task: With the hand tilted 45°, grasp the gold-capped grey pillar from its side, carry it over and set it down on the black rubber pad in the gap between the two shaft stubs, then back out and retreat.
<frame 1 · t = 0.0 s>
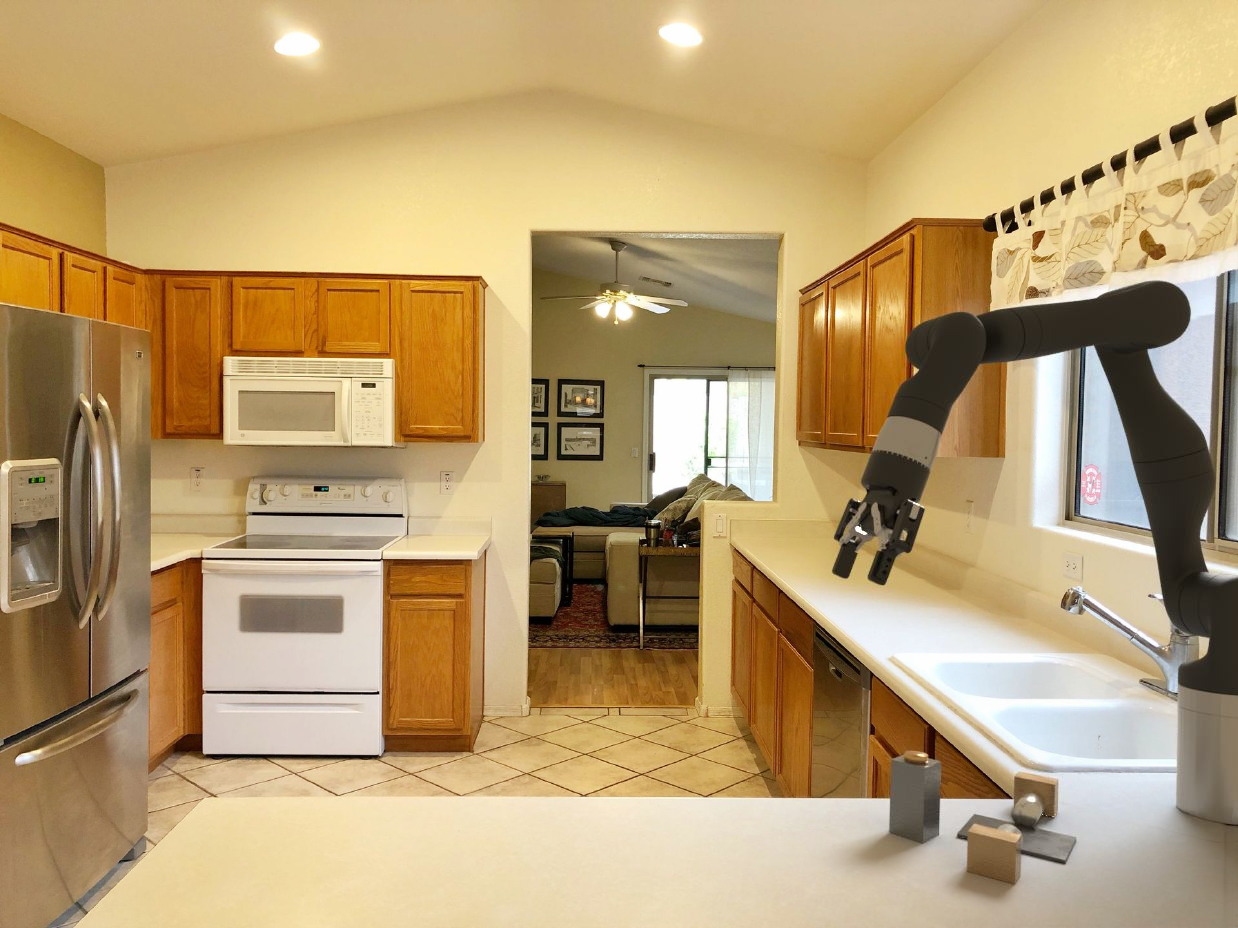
hand: (856, 579, 107), 31 cm above the countertop, tool tilted 20°, fingers open, 8 cm apart
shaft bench: (1016, 838, 107), on the countertop
gold-capped grey pillar: (914, 833, 107), on the countertop
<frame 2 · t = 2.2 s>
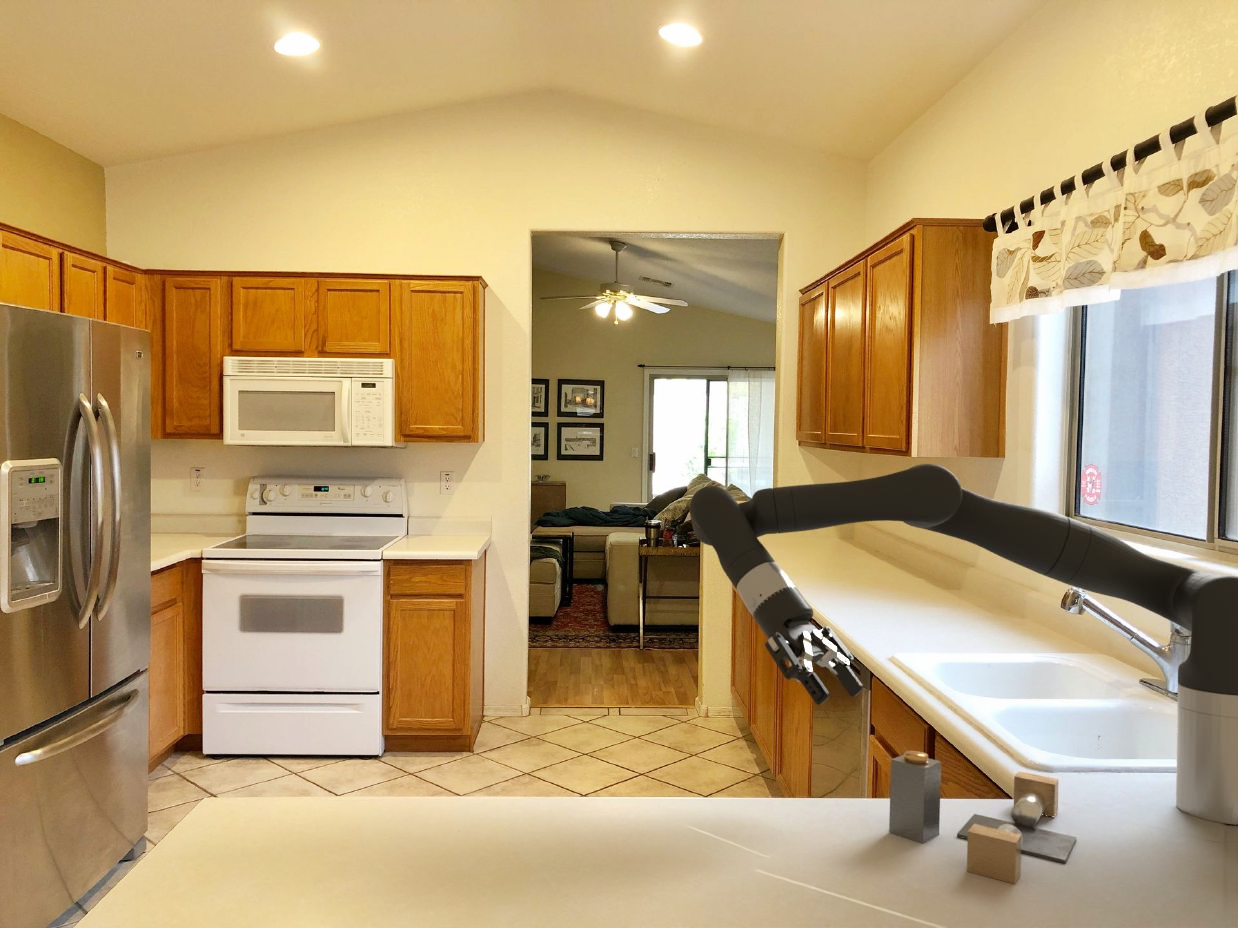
hand: (842, 696, 115), 15 cm above the countertop, tool tilted 45°, fingers open, 8 cm apart
nothing on the countertop moved.
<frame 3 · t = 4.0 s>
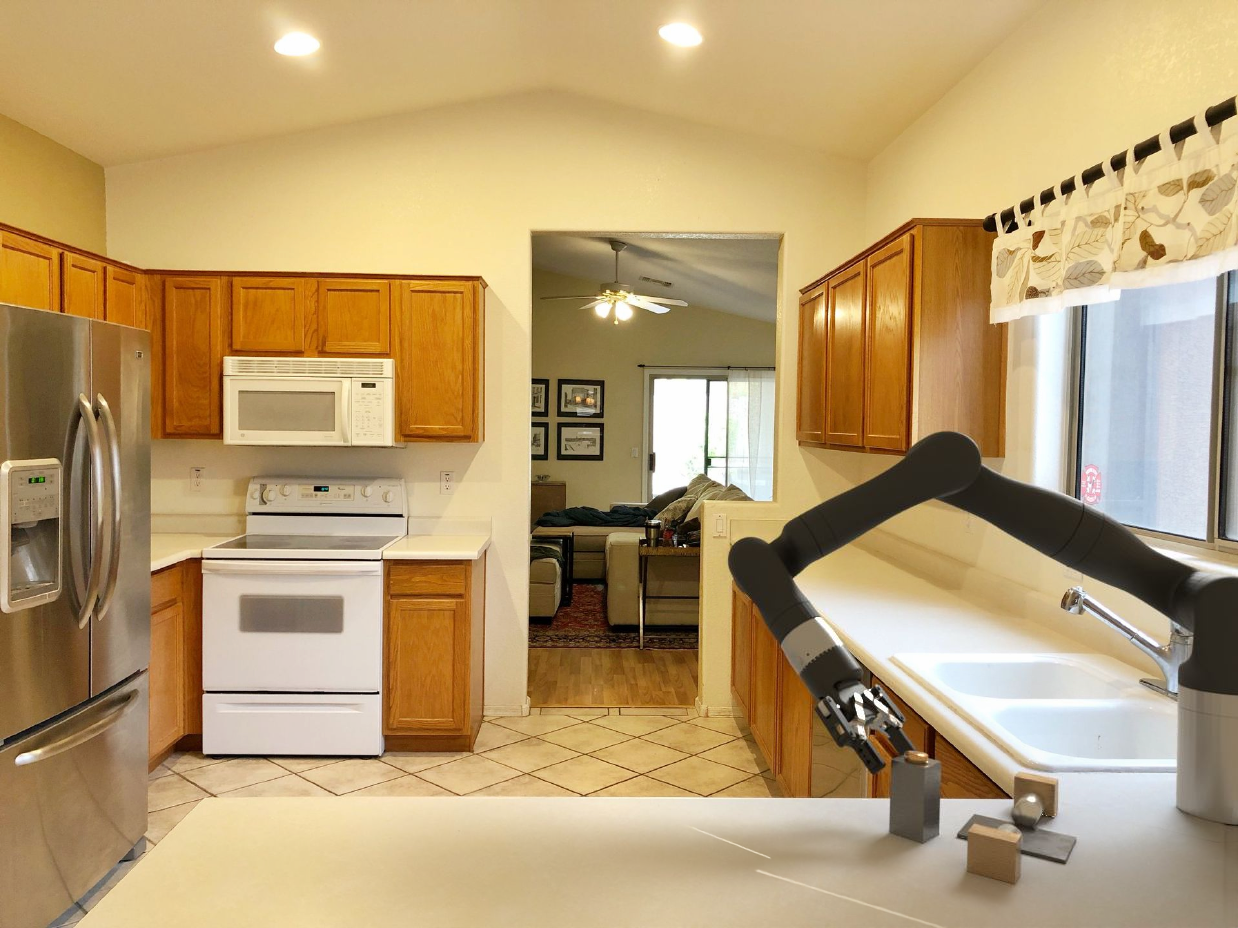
hand: (896, 764, 109), 8 cm above the countertop, tool tilted 45°, fingers open, 8 cm apart
nothing on the countertop moved.
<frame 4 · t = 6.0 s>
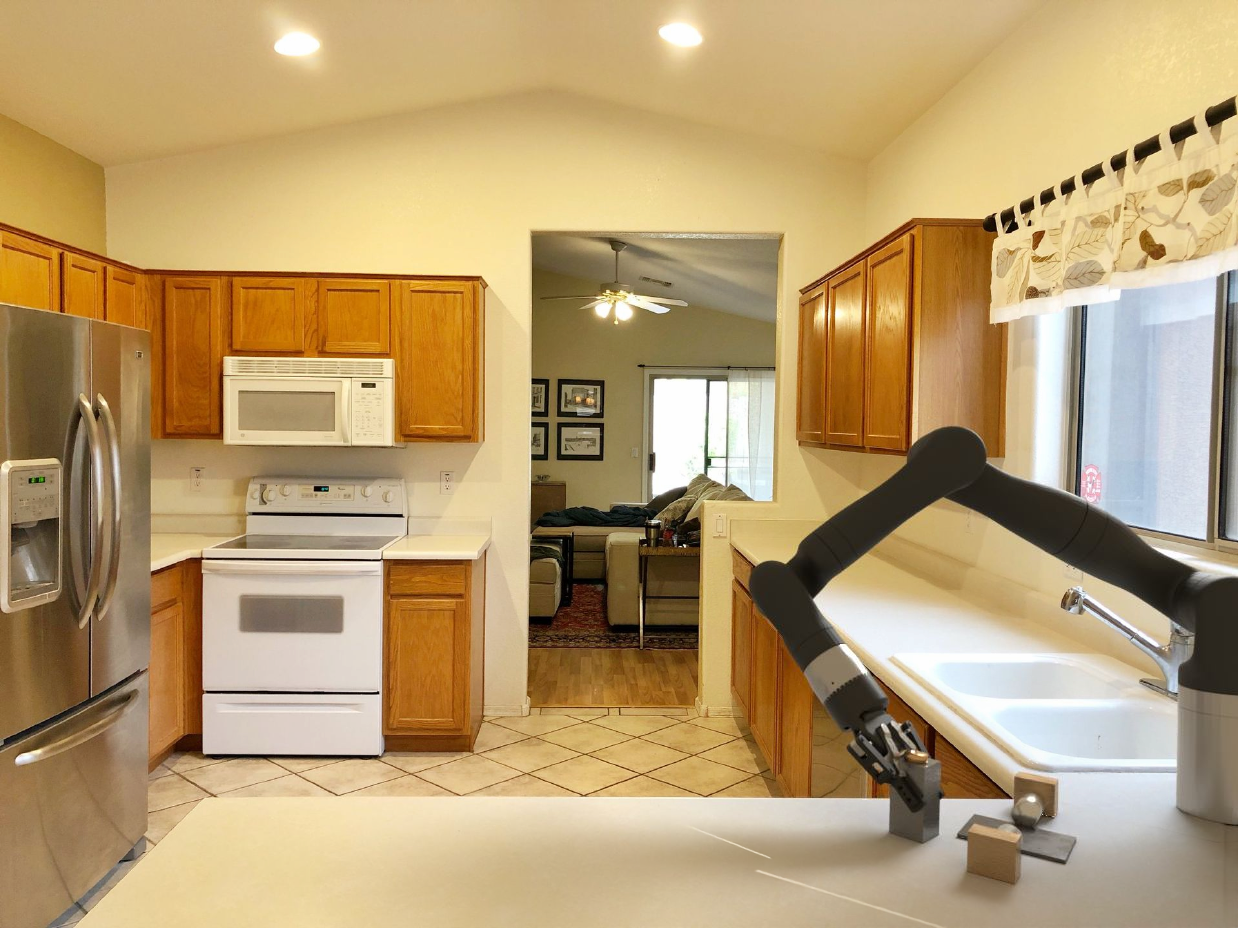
hand: (929, 803, 106), 4 cm above the countertop, tool tilted 45°, fingers closed on gold-capped grey pillar, 4 cm apart
gold-capped grey pillar: (913, 833, 107), on the countertop, touching gripper
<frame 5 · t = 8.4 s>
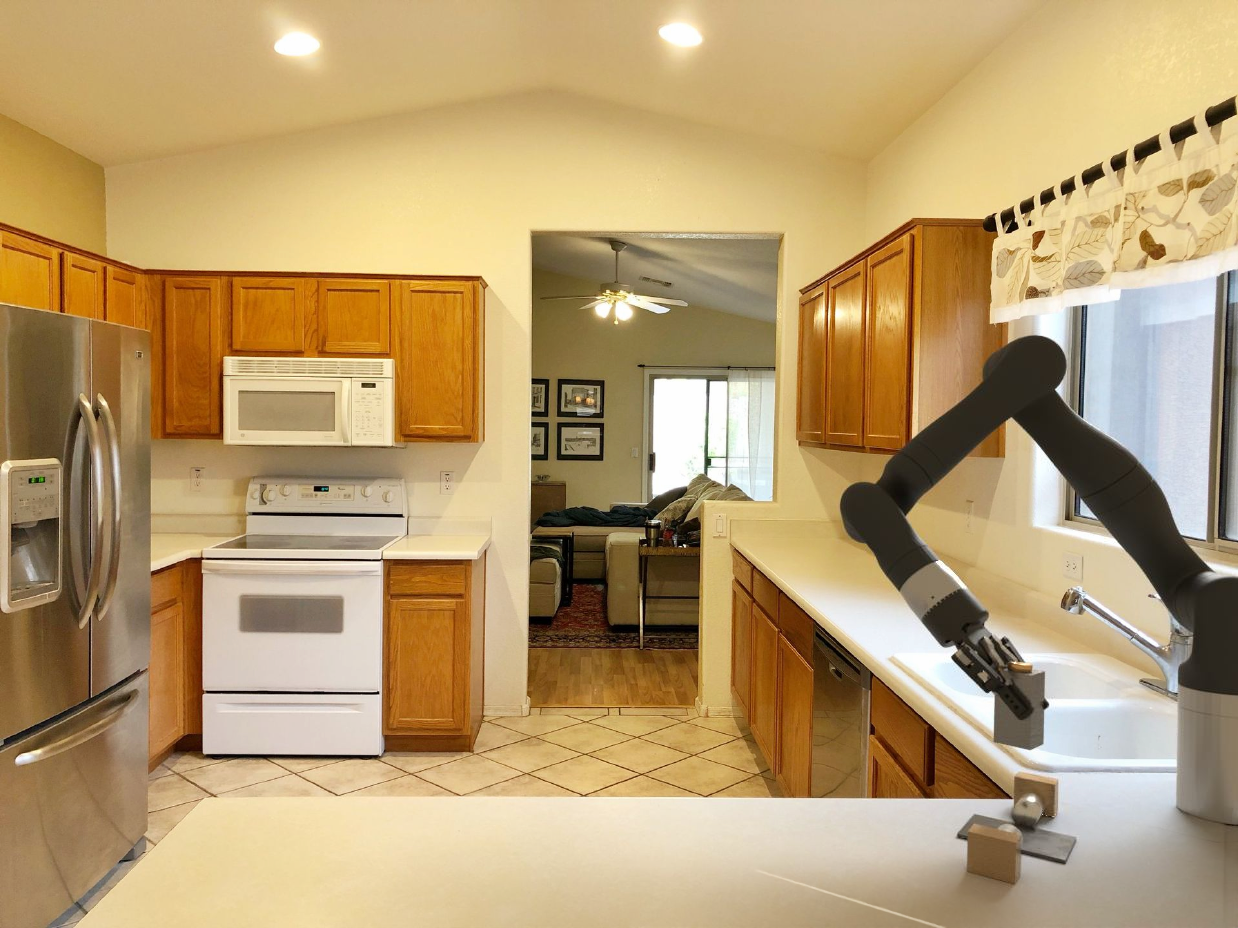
hand: (1035, 712, 106), 16 cm above the countertop, tool tilted 45°, fingers closed on gold-capped grey pillar, 4 cm apart
gold-capped grey pillar: (1018, 742, 107), point 12 cm above the countertop, touching gripper
when the fingers open (6 cm above the countertop, at t = 11.1 s): gold-capped grey pillar drops 1 cm, resting on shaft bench.
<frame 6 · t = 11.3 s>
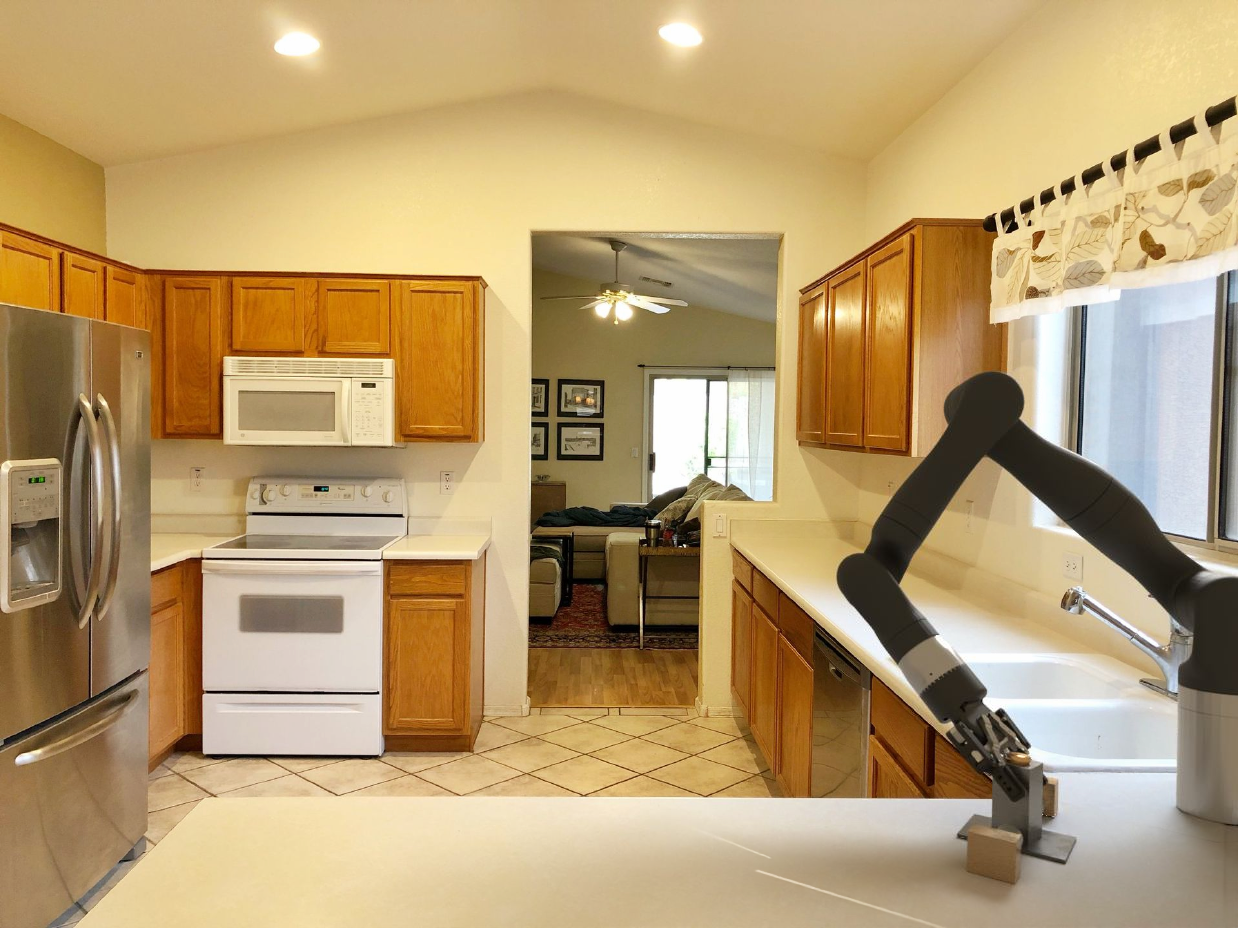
hand: (1031, 791, 106), 6 cm above the countertop, tool tilted 45°, fingers open, 6 cm apart
gold-capped grey pillar: (1016, 835, 107), resting on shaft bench
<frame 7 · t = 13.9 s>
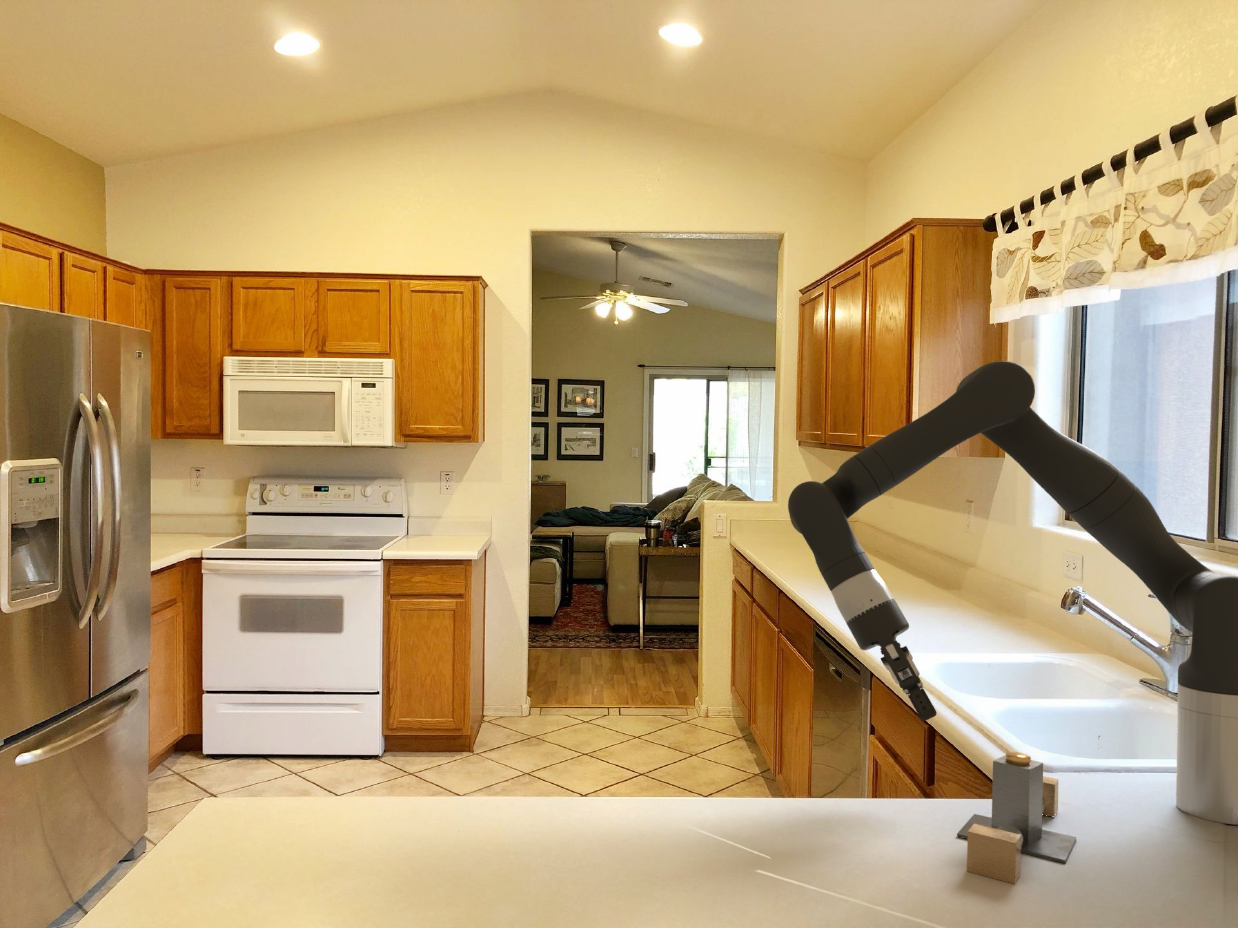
hand: (930, 717, 116), 12 cm above the countertop, tool tilted 35°, fingers open, 8 cm apart
nothing on the countertop moved.
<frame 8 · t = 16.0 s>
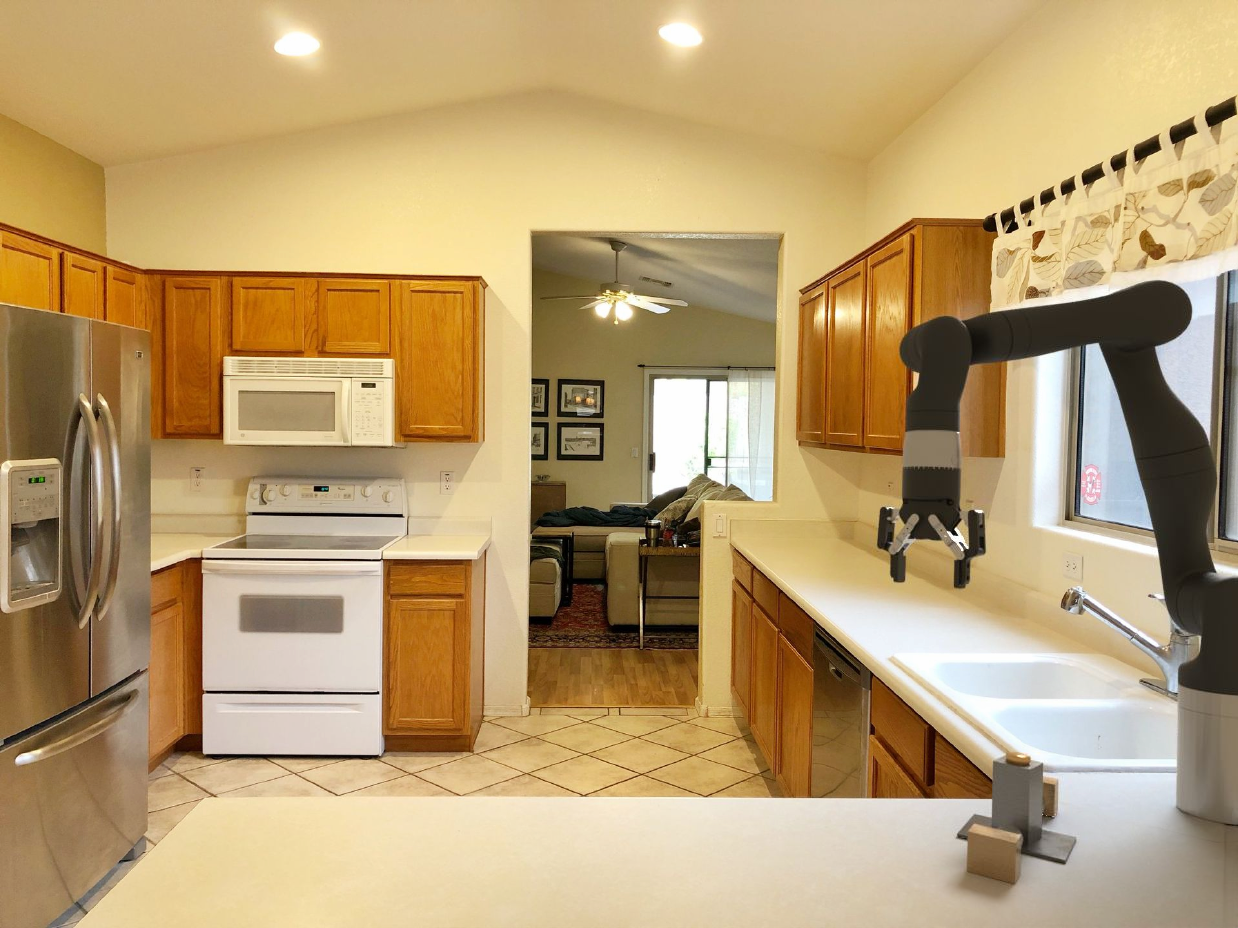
hand: (928, 585, 117), 30 cm above the countertop, tool pointing down, fingers open, 8 cm apart
nothing on the countertop moved.
at the end: gold-capped grey pillar inside the target area on the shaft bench (0.0 cm from its centre), point 0.4 cm above the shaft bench's base; gold-capped grey pillar tilted 0°; the gripper is holding nothing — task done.
